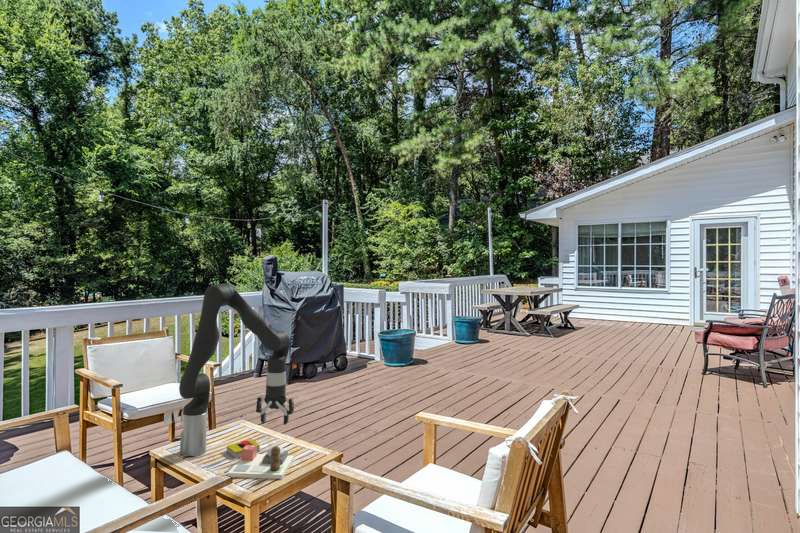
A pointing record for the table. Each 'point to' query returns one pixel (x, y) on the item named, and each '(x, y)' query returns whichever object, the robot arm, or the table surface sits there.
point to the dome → (271, 449)
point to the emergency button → (239, 449)
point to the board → (261, 467)
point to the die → (249, 452)
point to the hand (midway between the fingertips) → (274, 423)
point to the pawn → (275, 459)
